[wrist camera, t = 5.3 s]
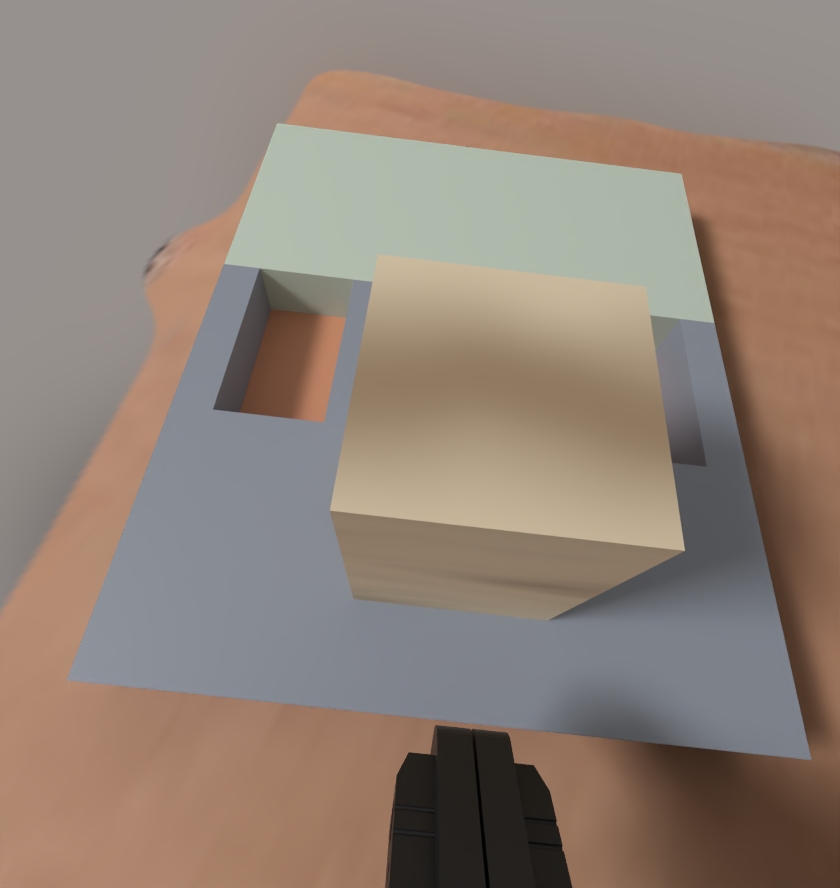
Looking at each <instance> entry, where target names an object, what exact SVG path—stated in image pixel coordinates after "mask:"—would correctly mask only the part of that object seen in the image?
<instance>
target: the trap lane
mask: <svg viewBox="0 0 840 888" xmlns="http://www.w3.org/2000/svg"><path fill="white" fill-rule="evenodd" d="M378 254H381V255H389V256H397V257H405V258H413V259H422V260H430V261H438V262H446V263H455V264H463V265H471V266H479V267H488V268H496V269H504V270H512V271H521V272H529V273H537V274H545V275H553V276H562V277H570V278H578V279H586V280H595V281H603V282H611V283H619V284H628V285H636V286H644V287H646V291H647V297H648V304H649V311H650V318H651V324H652V331H653V338H654V345H655V352H656V358H657V365H658V372H659V379H660V385H661V392H662V399H663V406H664V412H665V419H666V426H667V433H668V439H669V446H670V453H671V460H672V467H673V473H674V480H675V487H676V494H677V500H678V507H679V514H680V521H681V527H682V534H683V541H684V548H685V551H684V552H682V553H680V554H678V555H676V556H674V557H672V558H670V559H668V560H666V561H664V562H662V563H660V564H658V565H656V566H654V567H652V568H650V569H648V570H646V571H644V572H642V573H640V574H638V575H636V576H634V577H632V578H630V579H628V580H627V581H625V582H623V583H621V584H619V585H617V586H615V587H613V588H611V589H609V590H607V591H605V592H603V593H601V594H599V595H597V596H595V597H593V598H591V599H589V600H587V601H585V602H583V603H581V604H579V605H577V606H575V607H573V608H571V609H569V610H567V611H565V612H563V613H561V614H559V615H557V616H556V617H554V618H552V619H550V620H548V621H546V620H537V619H528V618H519V617H510V616H501V615H492V614H483V613H474V612H465V611H456V610H447V609H438V608H429V607H420V606H411V605H402V604H393V603H384V602H375V601H366V600H357V599H353V595H352V592H351V588H350V584H349V580H348V577H347V573H346V569H345V566H344V562H343V558H342V554H341V551H340V547H339V543H338V540H337V536H336V532H335V528H334V525H333V521H332V517H331V514H330V506H331V501H332V496H333V490H334V485H335V480H336V474H337V469H338V464H339V458H340V453H341V448H342V442H343V437H344V432H345V426H346V421H347V416H348V410H349V405H350V400H351V394H352V389H353V384H354V378H355V373H356V368H357V362H358V357H359V352H360V346H361V341H362V336H363V330H364V325H365V320H366V314H367V309H368V304H369V298H370V293H371V288H372V282H373V277H374V272H375V266H376V261H377V256H378ZM67 680H70V681H79V682H88V683H98V684H107V685H116V686H126V687H135V688H144V689H154V690H163V691H172V692H182V693H191V694H200V695H209V696H219V697H228V698H237V699H247V700H256V701H265V702H275V703H284V704H293V705H303V706H312V707H321V708H331V709H340V710H349V711H359V712H368V713H377V714H387V715H396V716H405V717H415V718H424V719H433V720H443V721H452V722H461V723H470V724H480V725H489V726H498V727H508V728H517V729H526V730H536V731H545V732H554V733H564V734H573V735H582V736H592V737H601V738H610V739H620V740H629V741H638V742H648V743H657V744H666V745H676V746H685V747H694V748H704V749H713V750H722V751H732V752H741V753H750V754H759V755H769V756H778V757H787V758H797V759H806V760H811V756H810V751H809V747H808V742H807V738H806V733H805V729H804V724H803V720H802V715H801V711H800V706H799V702H798V697H797V693H796V688H795V684H794V679H793V675H792V670H791V666H790V661H789V657H788V652H787V648H786V643H785V639H784V634H783V630H782V625H781V621H780V616H779V612H778V607H777V603H776V598H775V594H774V589H773V585H772V580H771V576H770V571H769V567H768V562H767V557H766V553H765V548H764V544H763V539H762V535H761V530H760V526H759V521H758V517H757V512H756V508H755V503H754V499H753V494H752V490H751V485H750V481H749V476H748V472H747V467H746V463H745V458H744V454H743V449H742V445H741V440H740V436H739V431H738V427H737V422H736V418H735V413H734V409H733V404H732V400H731V395H730V391H729V386H728V382H727V377H726V373H725V368H724V364H723V359H722V355H721V350H720V346H719V341H718V337H717V332H716V328H715V323H714V319H713V314H712V310H711V305H710V301H709V296H708V292H707V287H706V283H705V278H704V273H703V269H702V264H701V260H700V255H699V251H698V246H697V242H696V237H695V233H694V228H693V224H692V219H691V215H690V210H689V206H688V201H687V197H686V192H685V188H684V183H683V179H682V174H678V173H670V172H662V171H654V170H646V169H638V168H630V167H622V166H614V165H606V164H598V163H590V162H582V161H574V160H566V159H558V158H550V157H542V156H534V155H526V154H518V153H510V152H502V151H494V150H486V149H478V148H470V147H463V146H455V145H447V144H439V143H431V142H423V141H415V140H407V139H399V138H391V137H383V136H375V135H367V134H359V133H351V132H343V131H335V130H327V129H319V128H311V127H303V126H295V125H287V124H278V123H277V126H276V128H275V131H274V134H273V136H272V139H271V141H270V144H269V147H268V149H267V152H266V155H265V157H264V160H263V163H262V165H261V168H260V171H259V173H258V176H257V178H256V181H255V184H254V186H253V189H252V192H251V194H250V197H249V200H248V202H247V205H246V208H245V210H244V213H243V215H242V218H241V221H240V223H239V226H238V229H237V231H236V234H235V237H234V239H233V242H232V245H231V247H230V250H229V253H228V255H227V258H226V260H225V263H224V266H223V268H222V271H221V274H220V276H219V279H218V282H217V284H216V287H215V290H214V292H213V295H212V297H211V300H210V303H209V305H208V308H207V311H206V313H205V316H204V319H203V321H202V324H201V327H200V329H199V332H198V335H197V337H196V340H195V342H194V345H193V348H192V350H191V353H190V356H189V358H188V361H187V364H186V366H185V369H184V372H183V374H182V377H181V379H180V382H179V385H178V387H177V390H176V393H175V395H174V398H173V401H172V403H171V406H170V409H169V411H168V414H167V416H166V419H165V422H164V424H163V427H162V430H161V432H160V435H159V438H158V440H157V443H156V446H155V448H154V451H153V454H152V456H151V459H150V461H149V464H148V467H147V469H146V472H145V475H144V477H143V480H142V483H141V485H140V488H139V491H138V493H137V496H136V498H135V501H134V504H133V506H132V509H131V512H130V514H129V517H128V520H127V522H126V525H125V528H124V530H123V533H122V536H121V538H120V541H119V543H118V546H117V549H116V551H115V554H114V557H113V559H112V562H111V565H110V567H109V570H108V573H107V575H106V578H105V580H104V583H103V586H102V588H101V591H100V594H99V596H98V599H97V602H96V604H95V607H94V610H93V612H92V615H91V618H90V620H89V623H88V625H87V628H86V631H85V633H84V636H83V639H82V641H81V644H80V647H79V649H78V652H77V655H76V657H75V660H74V662H73V665H72V668H71V670H70V673H69V676H68V678H67Z"/></svg>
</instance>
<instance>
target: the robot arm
mask: <svg viewBox="0 0 840 888" xmlns="http://www.w3.org/2000/svg"><path fill="white" fill-rule="evenodd" d="M556 821H557V820H556V816H555V812H554V807H553V803H552V799H551V795H550V791H549V789H548V788H547V786H546V784H545V783H544V781H543V780H542V778H541V776H540V775H539V773H538V772H537V770H536V768H535V767H534V765H526V764H516V763H514V758H513V753H512V747H511V741H510V737H509V735H508V733H506V732H496V731H487V730H477V729H472V731H471V729H466V728H457V727H447V726H438V725H436V726H435V729H434V735H433V741H432V748H431V754H430V755H429V754H419V753H410V752H409V753H408V755H407V757H406V759H405V761H404V763H403V764H402V766H401V768H400V770H399V772H398V774H397V778H396V785H395V793H394V800H393V808H392V815H391V823H390V830H389V844H388V857H387V870H386V883H385V888H572V884H571V880H570V876H569V872H568V867H567V863H566V859H565V854H564V852H563V851H562V842H561V837H560V833H559V829H558V826H557V825H556Z"/></svg>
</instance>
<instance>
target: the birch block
mask: <svg viewBox="0 0 840 888" xmlns="http://www.w3.org/2000/svg"><path fill="white" fill-rule="evenodd" d="M330 514H331V517H332V521H333V525H334V528H335V532H336V536H337V540H338V543H339V547H340V551H341V554H342V558H343V562H344V566H345V569H346V573H347V577H348V580H349V584H350V588H351V592H352V595H353V599H357V600H366V601H375V602H384V603H393V604H402V605H411V606H420V607H429V608H438V609H447V610H456V611H465V612H474V613H483V614H492V615H501V616H510V617H519V618H528V619H537V620H546V621H548V620H550V619H552V618H554V617H556V616H557V615H559V614H561V613H563V612H565V611H567V610H569V609H571V608H573V607H575V606H577V605H579V604H581V603H583V602H585V601H587V600H589V599H591V598H593V597H595V596H597V595H599V594H601V593H603V592H605V591H607V590H609V589H611V588H613V587H615V586H617V585H619V584H621V583H623V582H625V581H627V580H628V579H630V578H632V577H634V576H636V575H638V574H640V573H642V572H644V571H646V570H648V569H650V568H652V567H654V566H656V565H658V564H660V563H662V562H664V561H666V560H668V559H670V558H672V557H674V556H676V555H678V554H680V553H682V552H684V551H685V548H684V541H683V534H682V527H681V521H680V514H679V507H678V500H677V494H676V487H675V480H674V473H673V467H672V460H671V453H670V446H669V439H668V433H667V426H666V419H665V412H664V406H663V399H662V392H661V385H660V379H659V372H658V365H657V358H656V352H655V345H654V338H653V331H652V324H651V318H650V311H649V304H648V297H647V291H646V287H644V286H636V285H628V284H619V283H611V282H603V281H595V280H586V279H578V278H570V277H562V276H553V275H545V274H537V273H529V272H521V271H512V270H504V269H496V268H488V267H479V266H471V265H463V264H455V263H446V262H438V261H430V260H422V259H413V258H405V257H397V256H389V255H381V254H378V256H377V261H376V266H375V272H374V277H373V282H372V288H371V293H370V298H369V304H368V309H367V314H366V320H365V325H364V330H363V336H362V341H361V346H360V352H359V357H358V362H357V368H356V373H355V378H354V384H353V389H352V394H351V400H350V405H349V410H348V416H347V421H346V426H345V432H344V437H343V442H342V448H341V453H340V458H339V464H338V469H337V474H336V480H335V485H334V490H333V496H332V501H331V506H330Z"/></svg>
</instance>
